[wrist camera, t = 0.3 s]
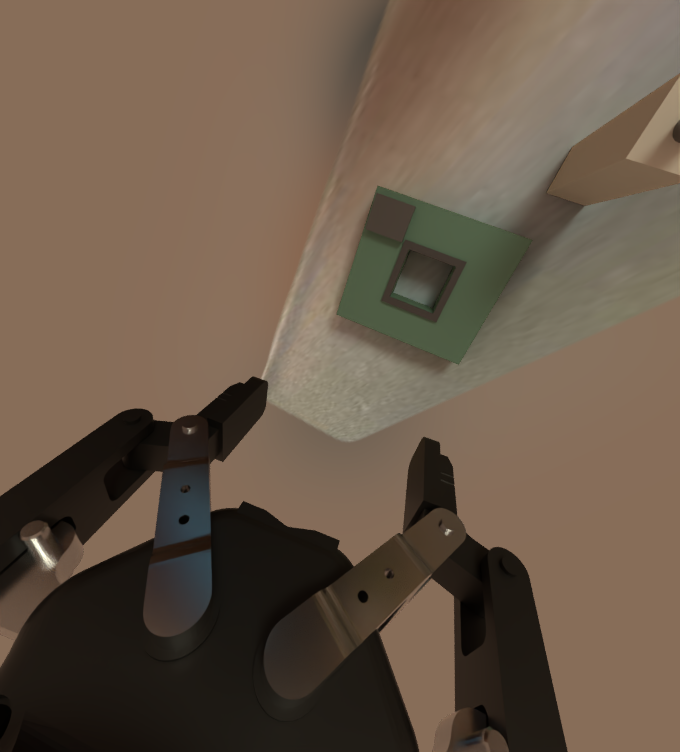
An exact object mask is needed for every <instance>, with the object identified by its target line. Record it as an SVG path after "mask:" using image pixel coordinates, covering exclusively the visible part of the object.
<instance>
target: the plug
mask: <svg viewBox="0 0 680 752" xmlns="http://www.w3.org/2000/svg"><path fill="white" fill-rule="evenodd" d="M679 183H680V74H678V75H677V76H675V77H674V78H672V79H671V80H669V81H668V82H666V83H665V84H663V85H662V86H661V87H659V88H658V89H656V90H655V91H653V92H652V93H650V94H649V95H647V96H646V97H644V98H643V99H641V100H640V101H639V102H637V103H636V104H634V105H633V106H631V107H630V108H628V109H627V110H625V111H624V112H622V113H621V114H619V115H618V116H617V117H615V118H614V119H612V120H611V121H609V122H608V123H606V124H605V125H603V126H602V127H600V128H599V129H598V130H596V131H595V132H593V133H592V134H590V135H589V136H587V137H586V138H584V139H583V140H581V141H580V142H578V143H577V144H576V145H574V146H573V147H572V149H571V150H570V152H569V154H568V156H567V157H566V159H565V161H564V163H563V164H562V166H561V168H560V170H559V171H558V173H557V175H556V177H555V178H554V180H553V182H552V184H551V185H550V187H549V189H548V191H547V192H546V193H547V194H550V195H553V196H556V197H559V198H562V199H565V200H569V201H572V202H575V203H578V204H581V205H584V206H587V205H591V204H595V203H599V202H603V201H608V200H612V199H616V198H620V197H624V196H628V195H633V194H637V193H641V192H645V191H649V190H653V189H658V188H662V187H666V186H670V185H674V184H679Z"/></svg>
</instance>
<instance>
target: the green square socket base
mask: <svg viewBox="0 0 680 752" xmlns="http://www.w3.org/2000/svg"><path fill="white" fill-rule="evenodd" d="M531 242H532V240H531V239H528V238H525V237H522V236H519V235H516V234H514V233H511V232H508V231H505V230H502V229H499V228H497V227H494V226H491V225H488V224H485V223H482V222H480V221H477V220H474V219H471V218H468V217H465V216H462V215H460V214H457V213H454V212H451V211H448V210H445V209H443V208H440V207H437V206H434V205H431V204H428V203H426V202H423V201H420V200H417V199H414V198H411V197H409V196H406V195H403V194H400V193H397V192H394V191H392V190H389V189H386V188H383V187H380V186H377V189H376V193H375V196H374V199H373V202H372V205H371V208H370V211H369V214H368V218H367V221H366V224H365V227H364V230H363V233H362V236H361V239H360V243H359V246H358V249H357V252H356V255H355V258H354V261H353V264H352V268H351V271H350V274H349V277H348V280H347V283H346V286H345V289H344V293H343V296H342V299H341V302H340V305H339V308H338V311H337V315H339V316H341V317H344V318H346V319H349V320H351V321H354V322H356V323H359V324H361V325H363V326H366V327H368V328H371V329H373V330H376V331H378V332H380V333H383V334H385V335H388V336H390V337H393V338H395V339H397V340H400V341H402V342H405V343H407V344H410V345H412V346H414V347H417V348H419V349H422V350H424V351H427V352H429V353H431V354H434V355H436V356H439V357H441V358H444V359H446V360H449V361H451V362H453V363H456V364H458V365H459V363H460V362H461V360H462V358H463V357H464V355H465V353H466V352H467V350H468V348H469V346H470V345H471V343H472V341H473V340H474V338H475V336H476V335H477V333H478V331H479V330H480V328H481V326H482V325H483V323H484V321H485V320H486V318H487V316H488V315H489V313H490V311H491V309H492V308H493V306H494V304H495V303H496V301H497V299H498V298H499V296H500V294H501V293H502V291H503V289H504V288H505V286H506V284H507V283H508V281H509V279H510V277H511V276H512V274H513V272H514V271H515V269H516V267H517V266H518V264H519V262H520V261H521V259H522V257H523V256H524V254H525V252H526V251H527V249H528V247H529V245H530V244H531ZM410 250H412V251H415V252H418V253H420V254H423V255H426V256H428V257H431V258H434V259H436V260H439V261H442V262H444V263H447V264H450V265H452V266H454V267H453V269H452V271H451V273H450V275H449V277H448V279H447V281H446V283H445V285H444V287H443V289H442V291H441V293H440V295H439V297H438V299H437V301H436V303H435V305H434V307H433V308H431V307H428V306H426V305H423V304H420V303H418V302H415V301H413V300H410V299H408V298H405V297H403V296H400V295H398V294H395V293H393V291H394V289H395V286H396V284H397V281H398V279H399V276H400V274H401V271H402V269H403V267H404V264H405V262H406V259H407V257H408V254H409V252H410Z"/></svg>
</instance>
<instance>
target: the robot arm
mask: <svg viewBox="0 0 680 752" xmlns="http://www.w3.org/2000/svg"><path fill="white" fill-rule="evenodd" d="M267 389H268V382H267V381H265V380H262V379H259V378H256V377H251V378H250V379H249V380H248V381H247V382H246V383H245V384H243V383H237V384H234V385H232V386H230V387H229V388H227V389H226V390H225V391H224V392H223V393H222V394H221V395H219V396H218V398H216V399H215V400H214V401H212V402H211V403H210V404H209V405H208V406H206V407H205V408H204V409H203V410H202V411H201V412H199V413H198V414H197V415H187V416H183V417H181V418H179V419H177V420H176V421H175V422H167V421H166V422H165V421H156V420H153V415H152V414H151V413H150V412H149V411H148V410H145V409H130V410H126V411H123V412H121V413H119V414H118V415H116V416H115V417H113V418H112V419H110V420H109V421H108V422H106V423H104V424H103V425H102V426H100V427H99V428H97V429H96V430H95V431H93V432H92V433H90V434H89V435H87V436H86V437H85V438H83V439H82V440H80V441H79V442H77V443H76V444H74V445H73V446H72V447H70V448H69V449H67V450H66V451H64V452H63V453H62V454H60V455H59V456H57V457H56V458H54V459H53V460H52V461H50V462H49V463H47V464H46V465H44V466H43V467H41V468H40V469H39V470H37V471H36V472H34V473H33V474H32V475H30V476H29V477H27V478H26V479H24V480H23V481H22V482H20V483H19V484H17V485H16V486H14V487H13V488H11V489H10V490H9V491H7V492H6V493H4V494H3V495H1V496H0V635H2V636H5V637H7V638H10V639H13V640H15V642H14V644H13V646H12V648H11V650H10V652H9V654H8V655H7V657H6V659H5V661H4V663H3V664H2V666H1V667H0V752H419V749H418V744H417V740H416V736H415V733H414V730H413V727H412V724H411V722H410V718H409V716H408V713H407V710H406V707H405V704H404V702H403V699H402V696H401V693H400V691H399V687H398V685H397V682H396V679H395V676H394V673H393V671H392V668H391V665H390V662H389V659H388V657H387V654H386V651H385V648H384V645H383V642H382V640H381V637H380V633H381V632H382V631H383V630H384V629H385V628H386V626H387V625H388V624H389V623H390V622H391V621H392V620H393V619H394V618H395V617H396V616H397V615H398V614H399V612H400V611H401V610H402V609H403V608H404V607H405V606H406V605H407V604H408V603H409V602H410V601H411V600H412V599H413V598H414V596H416V595H417V594H418V593H419V591H421V590H422V589H423V587H424V586H425V585H426V584H427V583H428V582H429V581H430V580H431V579H434V580H435V581H436V582H437V583H438V584H440V585H441V586H442V587H443V588H445V589H446V590H447V591H449V592H450V593H451V594H452V595H453V596H454V625H455V626H454V629H455V630H454V634H455V713H453V714H451V715H448V716H446V717H445V718H444V719H442V720H441V721H440V723H439V725H438V727H437V730H436V734H435V741H434V747H433V750H432V752H567V747H566V743H565V738H564V734H563V729H562V724H561V720H560V715H559V710H558V706H557V701H556V697H555V692H554V688H553V684H552V679H551V674H550V670H549V665H548V661H547V656H546V651H545V647H544V642H543V638H542V633H541V629H540V624H539V619H538V615H537V610H536V606H535V601H534V597H533V592H532V588H531V583H530V578H529V575H528V572H527V570H526V568H525V567H524V565H523V564H522V563H521V561H520V560H519V559H518V558H517V557H516V556H515V555H514V554H513V553H511V552H510V551H508V550H506V549H504V548H501V547H494V548H492V549H491V550H490V551H489V550H488V549H486V548H485V547H484V546H482V545H481V544H479V543H478V542H476V541H475V540H474V539H472V538H471V537H470V536H469V535H468V534H467V533H466V530H465V527H464V524H463V523H462V521H461V520H460V519H459V517H458V516H457V508H456V497H455V487H454V478H453V466H452V464H451V463H450V460H449V459H448V457H447V456H444V455H441V454H440V443H439V442H437V441H434V440H431V439H429V438H426V437H423V438H422V439H421V441H420V443H419V445H418V447H417V449H416V451H415V453H414V455H413V457H412V459H411V462H410V465H409V469H408V479H407V490H406V503H405V513H404V525H403V534H402V535H401V534H400V533H398V534H396V535H395V536H393V537H392V538H391V539H389V540H388V541H387V542H386V543H384V544H383V545H382V546H380V547H379V548H378V549H376V550H375V551H374V552H373V553H371V554H370V555H369V556H367V557H366V558H365V559H364V560H362V561H361V562H360V563H358V564H357V565H356V566H353V565H352V563H351V562H350V561H349V559H348V558H347V557H346V556H345V555H344V554H343V553H342V552H341V551H340V550H338V549H337V548H338V545H339V540H337V539H335V538H332V537H330V536H327V535H325V534H322V533H320V532H317V531H315V530H307V529H299V528H292V527H287V526H286V525H284V524H283V523H282V522H280V521H279V520H278V519H277V518H275V517H274V516H273V515H271V514H270V513H269V512H267V511H266V510H264V509H261V508H259V507H256V506H254V505H251V504H249V503H247V502H244V501H243V502H242V504H241V505H240V507H239V508H226V509H220V510H215V511H212V512H211V490H210V489H211V488H210V464H211V462H212V461H213V460H214V459H217V460H220V461H222V462H223V461H224V460H225V459H226V457H227V456H228V455H229V454H230V453H231V452H232V450H233V449H234V448H235V447H236V446H237V445H238V443H239V442H240V441H241V440H242V439H243V437H244V436H245V435H246V434H247V433H248V431H249V430H250V429H251V428H252V427H253V425H254V424H255V423H256V422H257V421H258V420H259V418H260V417H261V416H262V414H263V412H264V410H265V407H266V400H267ZM155 471H161V472H163V473H162V481H161V489H160V497H159V505H158V514H157V522H156V530H155V538H153V539H151V540H148V541H146V542H144V543H142V544H140V545H138V546H136V547H133V548H131V549H129V550H127V551H125V552H122V553H120V554H118V555H116V556H114V557H112V558H110V559H108V560H105V561H103V562H101V563H99V564H97V565H95V566H92V567H90V568H88V569H86V570H84V571H82V572H80V573H78V574H76V575H74V576H73V577H71V578H70V576H71V575H72V574H73V571H74V569H75V568H76V567H77V566H78V564H79V563H80V561H81V559H82V556H83V552H84V551H83V550H84V549H83V545H84V544H85V543H86V542H87V541H88V540H89V538H90V537H91V536H92V535H93V534H94V533H95V532H96V531H97V530H98V529H99V528H100V527H101V526H102V525H103V524H104V523H105V522H106V521H107V520H108V519H109V518H110V517H111V516H112V515H113V514H114V513H115V512H116V511H117V510H118V508H120V507H121V506H122V505H123V504H124V503H125V501H127V500H128V499H129V497H130V496H131V495H132V494H133V493H134V492H135V491H136V490H137V489H138V488H139V487H140V486H141V485H142V484H143V483H144V482H145V481H146V480H147V479H148V478H149V477H150V476H151V475H152V474H153V473H154V472H155Z"/></svg>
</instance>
